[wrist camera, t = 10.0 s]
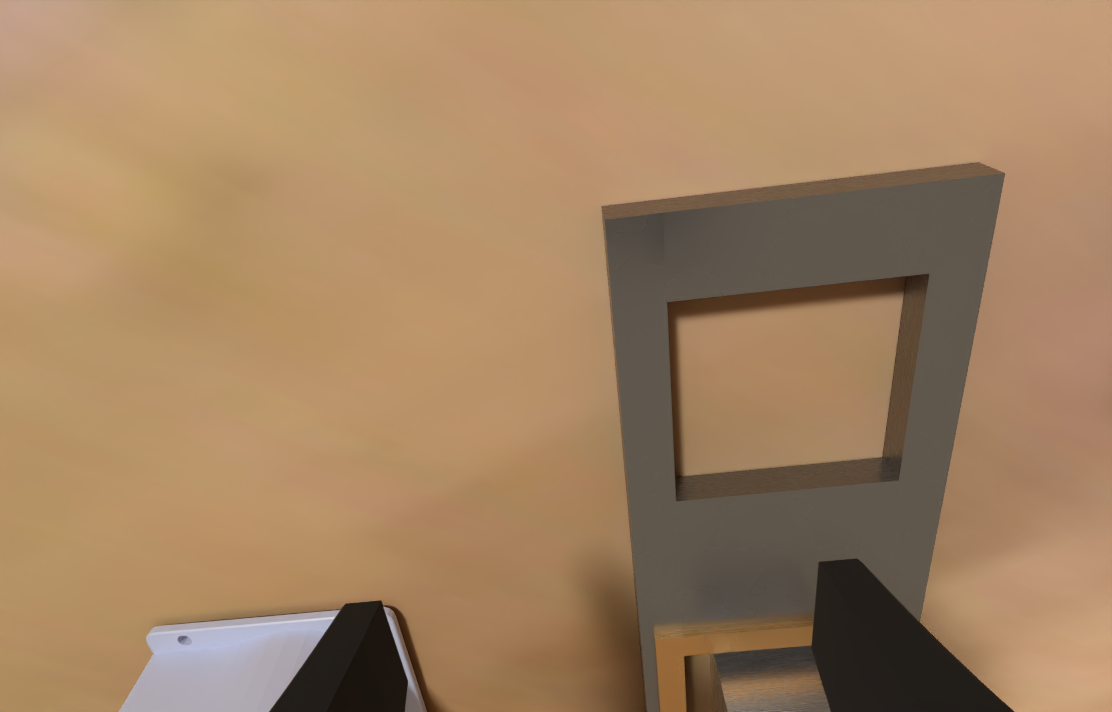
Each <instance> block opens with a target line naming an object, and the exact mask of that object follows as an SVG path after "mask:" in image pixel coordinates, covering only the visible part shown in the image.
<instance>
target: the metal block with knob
mask: <svg viewBox="0 0 1112 712" xmlns="http://www.w3.org/2000/svg"><path fill="white" fill-rule="evenodd" d="M710 669H711V693H712V709H713V712H831V711H830V707H829V704H828V701H827V698H826V695H825V692H824V688H823V685H822V682H821V679H820V675H819V672H818V669H817V665H816V662H815V659H814V655H813V652H812V649H811V645H810V646H798V647H786V648H774V649H762V650H750V651H738V652H726V653H714V654H710Z"/></svg>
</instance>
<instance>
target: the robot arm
mask: <svg viewBox="0 0 1112 712" xmlns="http://www.w3.org/2000/svg"><path fill="white" fill-rule="evenodd" d="M146 641H147V644H148V645H149V647H150V649H151V651H152V652H153V655H152V657H151V659H150V660H149V662H148V664H147V665H146V667H145V669H144V671H143V672H142V674H141V676H140V677H139V679H138V681H137V682H136V684H135V686H134V687H133V689H132V691H131V692H130V694H129V696H128V697H127V699H126V701H125V702H124V704H123V706H122V707H121V709H120V711H119V712H427V710H426V707H425V704H424V701H423V698H422V695H421V692H420V689H419V686H418V682H417V679H416V676H415V673H414V670H413V667H412V664H411V661H410V658H409V655H408V652H407V649H406V645H405V642H404V639H403V636H402V633H401V630H400V627H399V624H398V621H397V618H396V615H395V613H394V612H393V611H392V610H391V609H390V608H387V607H383V604H382V601H371V602H360V603H349V604H345V605H344V606H343V607H342V609H341V610H334V611H322V612H311V613H300V614H288V615H277V616H266V617H254V618H243V619H232V620H221V621H209V622H198V623H187V624H175V625H164V626H157V627H154V628H152V629H151V631H150V632H149V634H148V635H147V638H146ZM811 649H812V652H813V655H814V659H815V662H816V665H817V669H818V672H819V675H820V679H821V682H822V685H823V688H824V692H825V695H826V698H827V701H828V704H829V707H830V711H831V712H1014V711H1013V710H1012V709H1011V708H1010V707H1008V706H1007V705H1006V704H1005V703H1004V702H1003V701H1002V700H1001V699H999V698H998V697H997V696H996V695H995V694H994V693H993V692H992V691H991V690H990V689H989V688H987V687H986V686H985V685H984V684H983V683H982V682H981V681H980V680H979V679H978V678H977V677H976V676H975V675H973V674H972V673H971V672H970V671H969V670H968V669H967V668H966V667H965V666H964V665H963V664H962V663H961V662H960V661H959V660H958V659H957V658H956V657H955V656H954V655H952V654H951V653H950V652H949V651H948V650H947V649H946V648H945V647H944V646H943V645H942V644H941V643H940V642H939V641H938V640H937V639H936V638H935V637H934V636H933V635H932V634H931V633H930V632H929V631H928V630H927V629H926V628H925V627H924V626H923V625H922V624H921V623H920V622H919V621H918V620H917V619H916V618H915V617H914V616H913V615H912V614H911V613H910V612H909V611H908V610H907V609H906V608H905V607H904V606H903V605H902V604H901V603H900V602H899V601H898V600H897V598H896V597H895V596H894V595H893V594H892V593H891V592H890V591H889V590H888V589H887V588H886V587H885V586H884V585H883V584H882V583H881V582H880V581H879V580H878V578H877V577H876V576H875V575H874V574H873V573H872V572H871V571H870V570H869V569H868V568H867V567H866V566H865V565H864V564H863V563H862V562H861V561H860V560H859V559H857V558H856V559H844V560H833V561H822V562H819V564H818V575H817V587H816V599H815V610H814V622H813V634H812V645H811Z"/></svg>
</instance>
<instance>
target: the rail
mask: <svg viewBox="0 0 1112 712" xmlns="http://www.w3.org/2000/svg"><path fill="white" fill-rule="evenodd" d="M1004 176H1005V173H1003V172H1001V171H998V170H996V169H993V168H991V167H989V166H986V165H984V164H981V163H979V162H978V163H969V164H961V165H952V166H944V167H935V168H926V169H918V170H909V171H901V172H892V173H884V174H875V175H867V176H858V177H849V178H841V179H832V180H824V181H815V182H807V183H798V184H789V185H781V186H772V187H764V188H755V189H747V190H738V191H729V192H721V193H712V194H704V195H695V196H687V197H678V198H669V199H661V200H652V201H644V202H635V203H627V204H618V205H609V206H602V217H603V229H604V240H605V252H606V263H607V274H608V286H609V297H610V309H611V320H612V331H613V343H614V354H615V366H616V377H617V388H618V400H619V411H620V423H621V434H622V445H623V457H624V468H625V480H626V491H627V502H628V514H629V525H630V537H631V548H632V559H633V571H634V582H635V593H636V605H637V616H638V628H639V639H640V650H641V662H642V673H643V685H644V696H645V707H646V712H686V689H685V667H684V656H689V655H702V654H714V653H726V652H738V651H750V650H762V649H774V648H786V647H798V646H810V645H812V634H813V622H814V610H815V599H816V587H817V575H818V564H819V562H822V561H833V560H844V559H856V558H857V559H859V560H860V561H861V562H862V563H863V564H864V565H865V566H866V567H867V568H868V569H869V570H870V571H871V572H872V573H873V574H874V575H875V576H876V577H877V578H878V580H879V581H880V582H881V583H882V584H883V585H884V586H885V587H886V588H887V589H888V590H889V591H890V592H891V593H892V594H893V595H894V596H895V597H896V598H897V600H898V601H899V602H900V603H901V604H902V605H903V606H904V607H905V608H906V609H907V610H908V611H909V612H910V613H911V614H912V615H913V616H914V617H915V618H916V619H917V620H918V621H919V622H920V618H921V613H922V607H923V602H924V597H925V591H926V586H927V581H928V576H929V570H930V565H931V560H932V555H933V549H934V544H935V539H936V534H937V528H938V523H939V518H940V513H941V507H942V502H943V497H944V492H945V486H946V481H947V476H948V471H949V465H950V460H951V455H952V450H953V444H954V439H955V434H956V428H957V423H958V418H959V413H960V407H961V402H962V397H963V392H964V386H965V381H966V376H967V371H968V365H969V360H970V355H971V350H972V344H973V339H974V334H975V329H976V323H977V318H978V313H979V308H980V302H981V297H982V292H983V287H984V281H985V276H986V271H987V266H988V260H989V255H990V250H991V244H992V239H993V234H994V229H995V223H996V218H997V213H998V208H999V202H1000V197H1001V192H1002V187H1003V181H1004ZM902 276H907V277H906V285H905V292H904V300H903V307H902V315H901V323H900V330H899V338H898V345H897V353H896V360H895V368H894V376H893V383H892V391H891V398H890V406H889V413H888V421H887V429H886V436H885V444H884V451H883V458H872V459H862V460H852V461H841V462H831V463H820V464H810V465H799V466H789V467H779V468H768V469H758V470H747V471H737V472H727V473H716V474H706V475H695V476H685V477H675V467H674V445H673V423H672V400H671V378H670V356H669V334H668V311H667V302H673V301H682V300H691V299H700V298H710V297H719V296H728V295H737V294H746V293H756V292H765V291H774V290H783V289H792V288H801V287H811V286H820V285H829V284H838V283H847V282H856V281H866V280H875V279H884V278H893V277H902Z"/></svg>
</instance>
